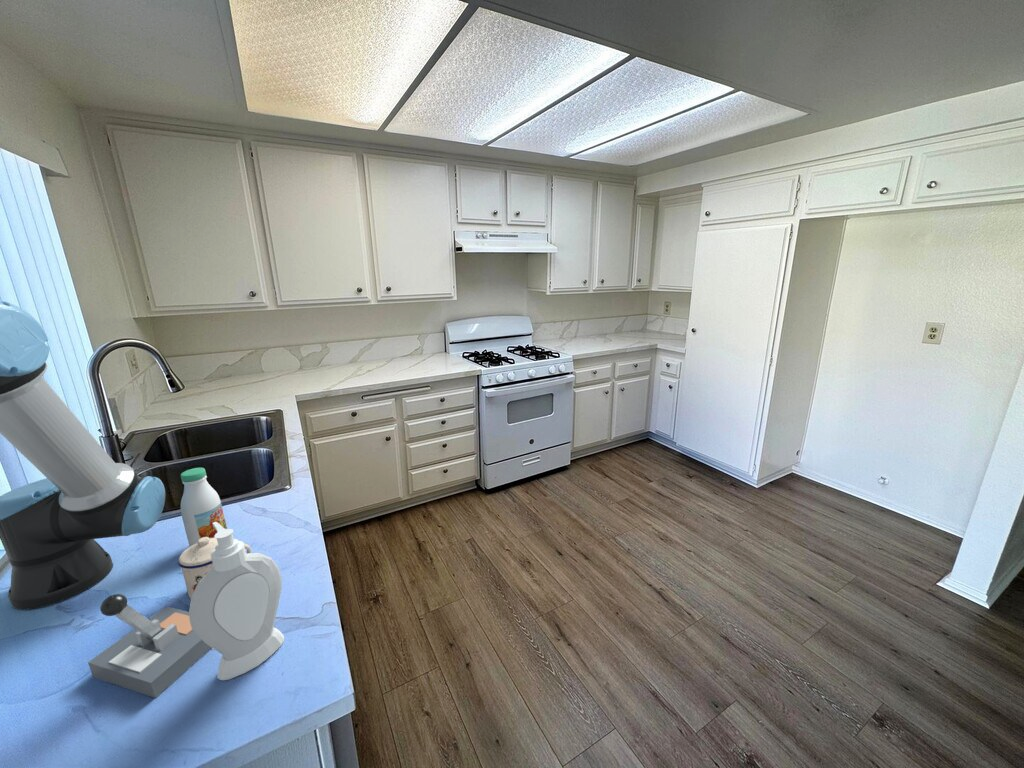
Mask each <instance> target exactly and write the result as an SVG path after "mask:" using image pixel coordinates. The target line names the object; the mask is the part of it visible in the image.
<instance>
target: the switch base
mask: <svg viewBox="0 0 1024 768" xmlns="http://www.w3.org/2000/svg"><path fill="white" fill-rule="evenodd" d="M147 619H148V620H150V621H151V622H152V623H154V624H155V625H157V626H158V627H159V628H161V629H162V630H163V631H162V632H160V633H159V634H158V635H156V636H155V637H154V638H153V641H154V642H153V641H149V640H147V637H146V636H144V635H143V634H141V633H140V632H138V631H137V630H136V629H134V628H133V629H132V630H131V631H129V632H128V633H127V634H126V635H124V636H123V637H122V638H120V639H118V640H117V641H116V642H114V643H113V644H111V645H110V646H109V647H107V648H106V649H104V650H103V651H102V652H100V653H99V654H98V655H96V656H95V657H93V658H92V659H90V660H89V661H87V665H88V667H89V669H90V672H91V674H92V677H93V678H95V679H97V680H101V681H104V682H107V683H109V682H110V683H109V684H112V683H113V685H115V684H116V685H115V686H118V685H119V687H122V688H125V689H127V688H128V689H127V690H131V691H134V692H137V693H140V694H143V695H144V696H148V697H152V698H154V699H157V697H159V696H160V695H161V694H162V693H163V692H165V691H166V690H167V689H168V688H169V687H170V686H171V685H172V684H174V682H175V681H176V680H178V679H179V678H180V677H181V676H182V675H183V674H185V672H187V671H188V670H189V669H190V668H192V666H193V665H194V664H196V663H197V662H198V661H199V660H200V659H201V658H202V657H203V656H204V655H206V654H207V653H208V652H209V651H210V650H211V649H213V648H212V647H210V646H209V645H207V644H206V643H205V642H204V641H203V640H202V639H200V638H199V637H198V636H197V635H196V633H195V632H194V631H193V629H192V627H191V624H190V618H189V611H187V610H183V609H178V608H175V607H170V606H165V607H163V608H162V609H160V610H159V611H158V612H156V613H155V614H153V615H152V616H150V617H149V618H147Z"/></svg>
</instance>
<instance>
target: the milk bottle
mask: <svg viewBox="0 0 1024 768" xmlns="http://www.w3.org/2000/svg"><path fill="white" fill-rule="evenodd" d="M207 478H208V476H207V472H206V469H205V468H204V467H194V468H191V469H186V470H185V471H183V472H181V473H180V479H181V482H182V484H183V485H184V487H183V494H182V497H181V500H180V513H181V518H182V523H183V526H184V530H185V535H186V539H187V542H188V548H189V547H190V546H192V545H194V544H196V543H197V542H198V540H199V539H201V538H203V537H208V538H209V539H210V538H215V534H216V533H217V531H216V529H215V527H214V526H213V524H212V523H214V522H217V523H219V524H220V525H221V526H222V527H223V528H224V529H228V526H227V522H226V521H227V520H226V518H225V513H224V509H223V506H222V501H221V498H220V495H219V494H218V492H217V491H216V490H215V489H214V487H212V486H211V484H209V482H208V481H207Z"/></svg>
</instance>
